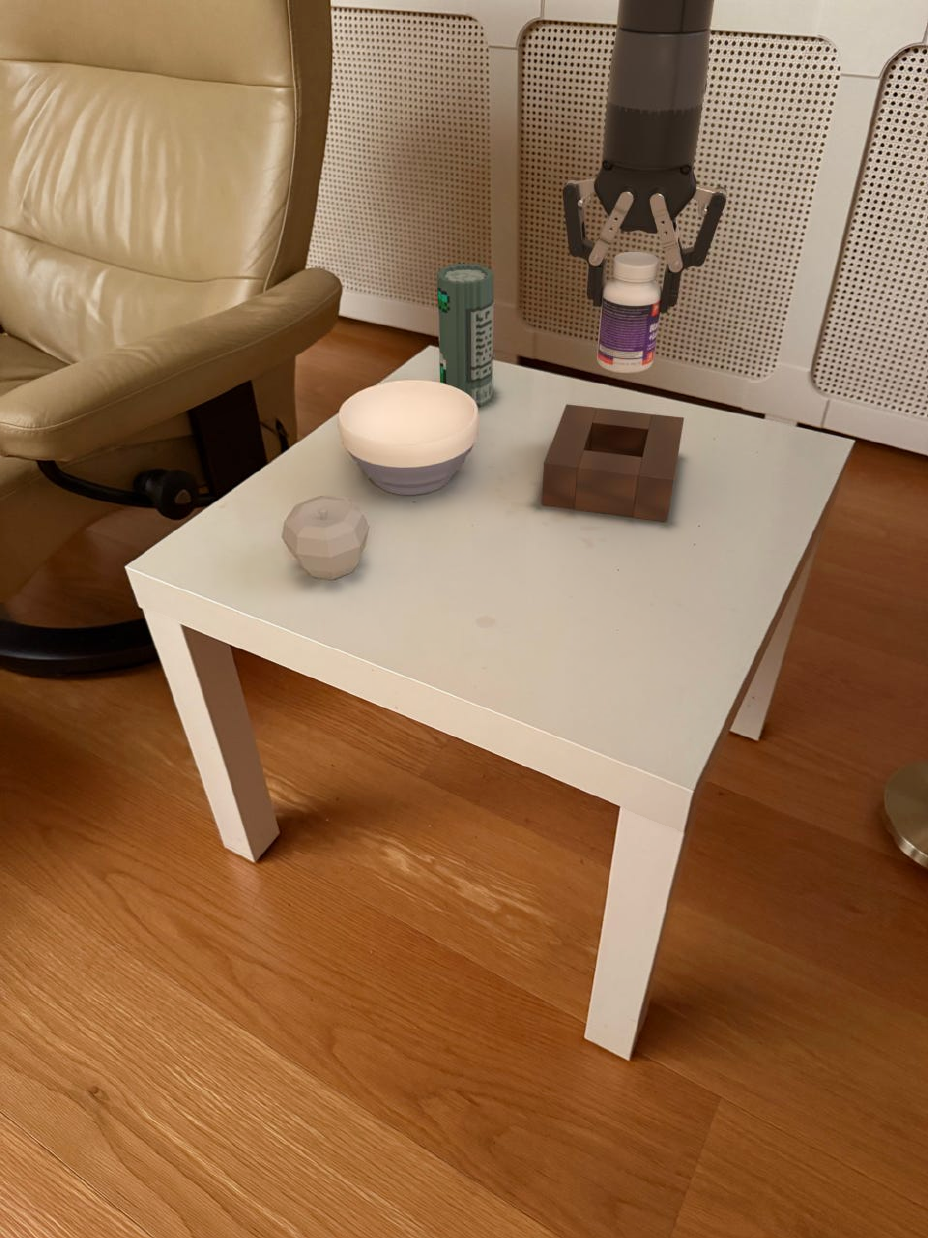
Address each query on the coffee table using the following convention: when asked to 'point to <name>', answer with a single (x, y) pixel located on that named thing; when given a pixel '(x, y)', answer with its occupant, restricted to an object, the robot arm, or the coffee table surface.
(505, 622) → the coffee table surface
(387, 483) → the bowl
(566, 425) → the socket pad
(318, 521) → the apple
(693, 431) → the coffee table surface
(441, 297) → the can
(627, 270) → the pill bottle
